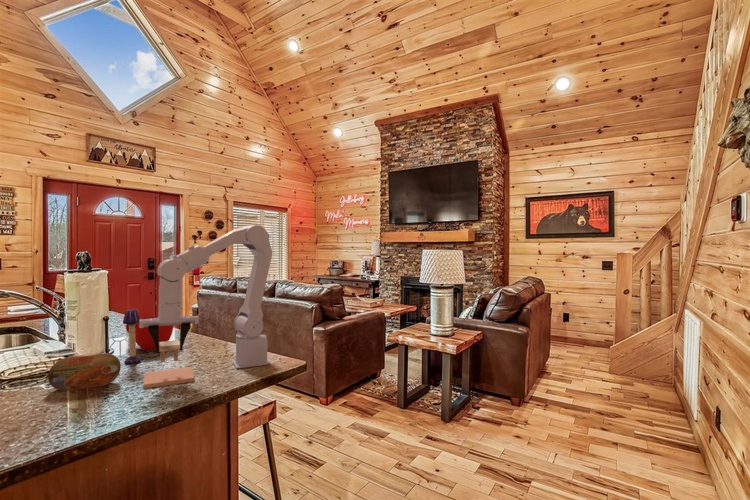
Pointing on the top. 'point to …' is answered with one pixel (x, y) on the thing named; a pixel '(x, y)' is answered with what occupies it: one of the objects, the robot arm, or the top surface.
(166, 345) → the toy stool
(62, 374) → the tin
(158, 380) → the mat
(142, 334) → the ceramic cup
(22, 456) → the top surface
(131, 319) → the toy lamp
